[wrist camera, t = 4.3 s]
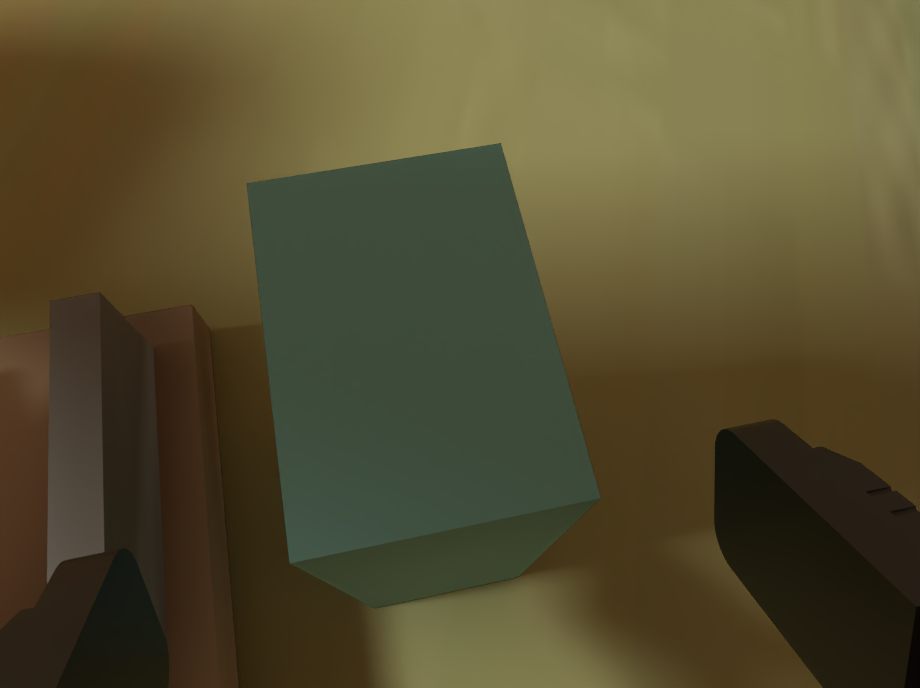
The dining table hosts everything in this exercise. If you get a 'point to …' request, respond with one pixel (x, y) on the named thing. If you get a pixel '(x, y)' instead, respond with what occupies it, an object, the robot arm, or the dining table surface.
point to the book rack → (119, 469)
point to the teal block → (413, 377)
